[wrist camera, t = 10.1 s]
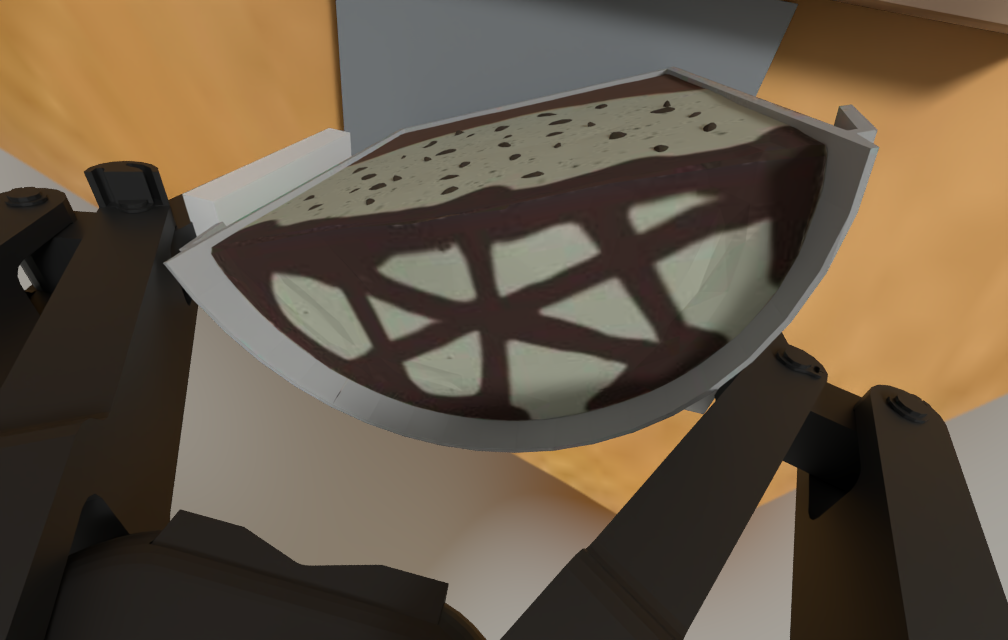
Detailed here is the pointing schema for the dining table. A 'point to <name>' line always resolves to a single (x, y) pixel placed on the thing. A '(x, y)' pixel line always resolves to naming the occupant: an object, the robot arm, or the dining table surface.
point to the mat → (534, 51)
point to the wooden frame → (948, 11)
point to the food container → (542, 261)
